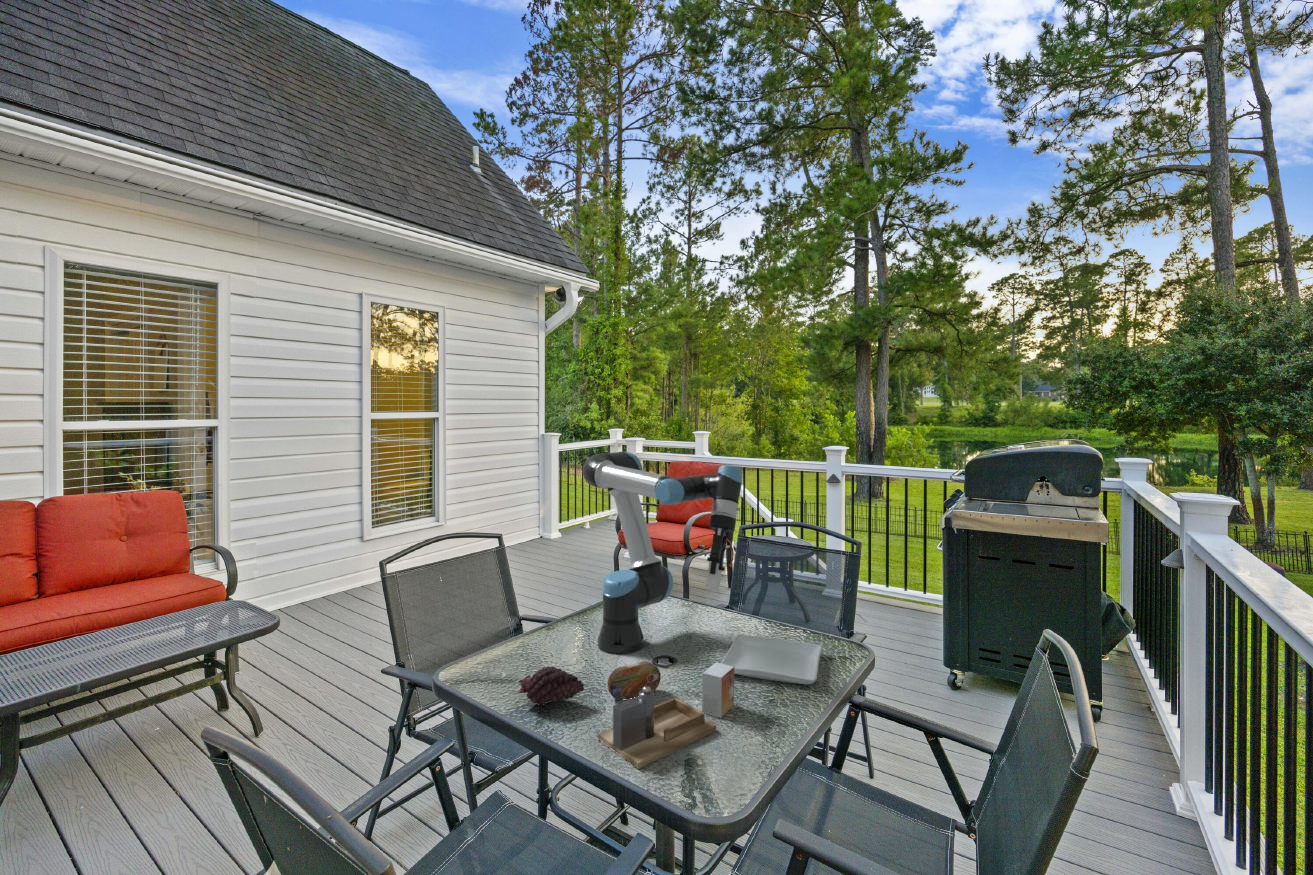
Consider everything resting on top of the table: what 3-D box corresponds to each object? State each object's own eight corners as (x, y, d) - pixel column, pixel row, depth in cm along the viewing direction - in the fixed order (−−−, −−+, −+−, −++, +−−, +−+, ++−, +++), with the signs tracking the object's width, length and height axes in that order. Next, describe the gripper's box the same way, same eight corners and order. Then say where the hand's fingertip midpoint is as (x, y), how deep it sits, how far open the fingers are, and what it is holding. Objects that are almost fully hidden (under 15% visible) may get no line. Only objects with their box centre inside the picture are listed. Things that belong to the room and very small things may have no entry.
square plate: (816, 693, 164) (816, 679, 164) (718, 678, 173) (718, 665, 173) (822, 654, 190) (822, 642, 190) (737, 643, 199) (737, 632, 199)
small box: (721, 718, 150) (721, 677, 149) (701, 712, 153) (701, 672, 152) (734, 705, 157) (735, 666, 156) (715, 700, 160) (715, 661, 159)
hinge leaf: (612, 744, 136) (612, 695, 135) (647, 728, 143) (647, 682, 142) (622, 751, 133) (621, 701, 133) (657, 734, 140) (657, 687, 139)
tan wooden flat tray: (598, 740, 140) (598, 723, 140) (674, 707, 156) (674, 692, 156) (637, 769, 129) (637, 751, 129) (716, 730, 144) (716, 714, 144)
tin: (610, 704, 158) (610, 672, 157) (605, 699, 160) (605, 668, 160) (661, 691, 164) (661, 661, 164) (655, 687, 167) (655, 657, 167)
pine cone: (587, 696, 161) (587, 660, 161) (579, 715, 151) (579, 677, 151) (523, 694, 163) (522, 658, 162) (511, 712, 153) (510, 674, 152)
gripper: (734, 508, 165) (723, 586, 159) (737, 527, 189) (727, 596, 182) (707, 504, 167) (695, 581, 160) (713, 523, 190) (703, 591, 183)
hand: (712, 589), depth 171 cm, fingers open, 13 cm apart
